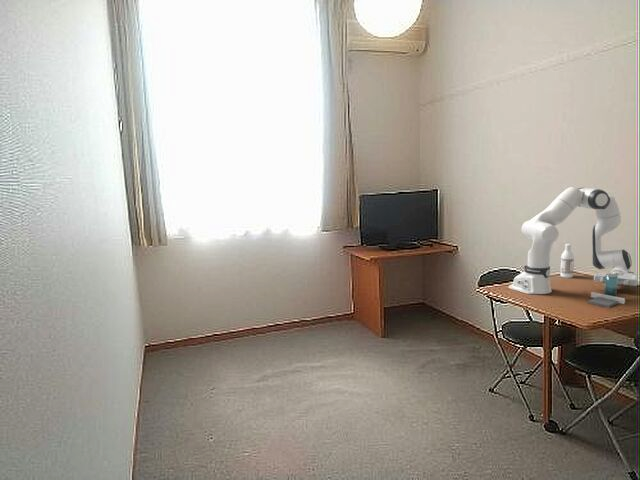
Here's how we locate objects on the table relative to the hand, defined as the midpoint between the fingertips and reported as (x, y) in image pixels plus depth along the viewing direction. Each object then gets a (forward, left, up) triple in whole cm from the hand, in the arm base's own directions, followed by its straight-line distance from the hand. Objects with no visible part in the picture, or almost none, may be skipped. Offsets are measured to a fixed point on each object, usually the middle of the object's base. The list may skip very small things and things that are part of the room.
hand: (612, 282), depth 257 cm
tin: (+1, -5, -7) cm, 9 cm away
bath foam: (-36, +21, -7) cm, 42 cm away
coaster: (+3, -17, -7) cm, 19 cm away
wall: (+2, -11, -7) cm, 13 cm away
